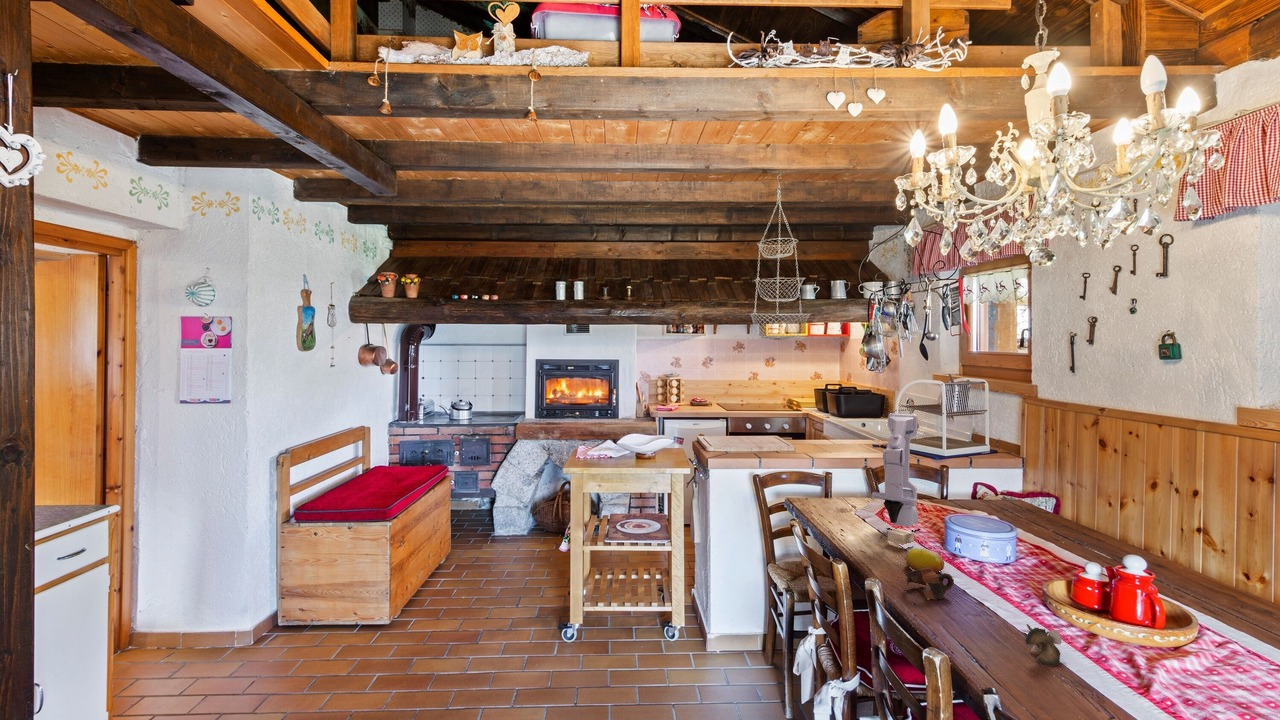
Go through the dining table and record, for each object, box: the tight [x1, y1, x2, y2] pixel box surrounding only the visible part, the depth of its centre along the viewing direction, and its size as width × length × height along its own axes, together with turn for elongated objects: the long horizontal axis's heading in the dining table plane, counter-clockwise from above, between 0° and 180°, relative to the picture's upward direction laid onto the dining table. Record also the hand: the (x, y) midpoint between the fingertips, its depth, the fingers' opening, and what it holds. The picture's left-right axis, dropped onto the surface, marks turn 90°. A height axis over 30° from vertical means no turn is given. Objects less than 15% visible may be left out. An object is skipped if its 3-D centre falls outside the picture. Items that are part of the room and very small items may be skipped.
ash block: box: [887, 528, 915, 545], centre depth 202 cm, size 6×6×5 cm
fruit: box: [905, 547, 945, 574], centre depth 179 cm, size 11×10×8 cm
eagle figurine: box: [1024, 623, 1062, 667], centre depth 128 cm, size 8×7×9 cm
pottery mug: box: [905, 568, 955, 600], centre depth 161 cm, size 12×10×8 cm
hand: (893, 522), depth 201 cm, fingers closed
